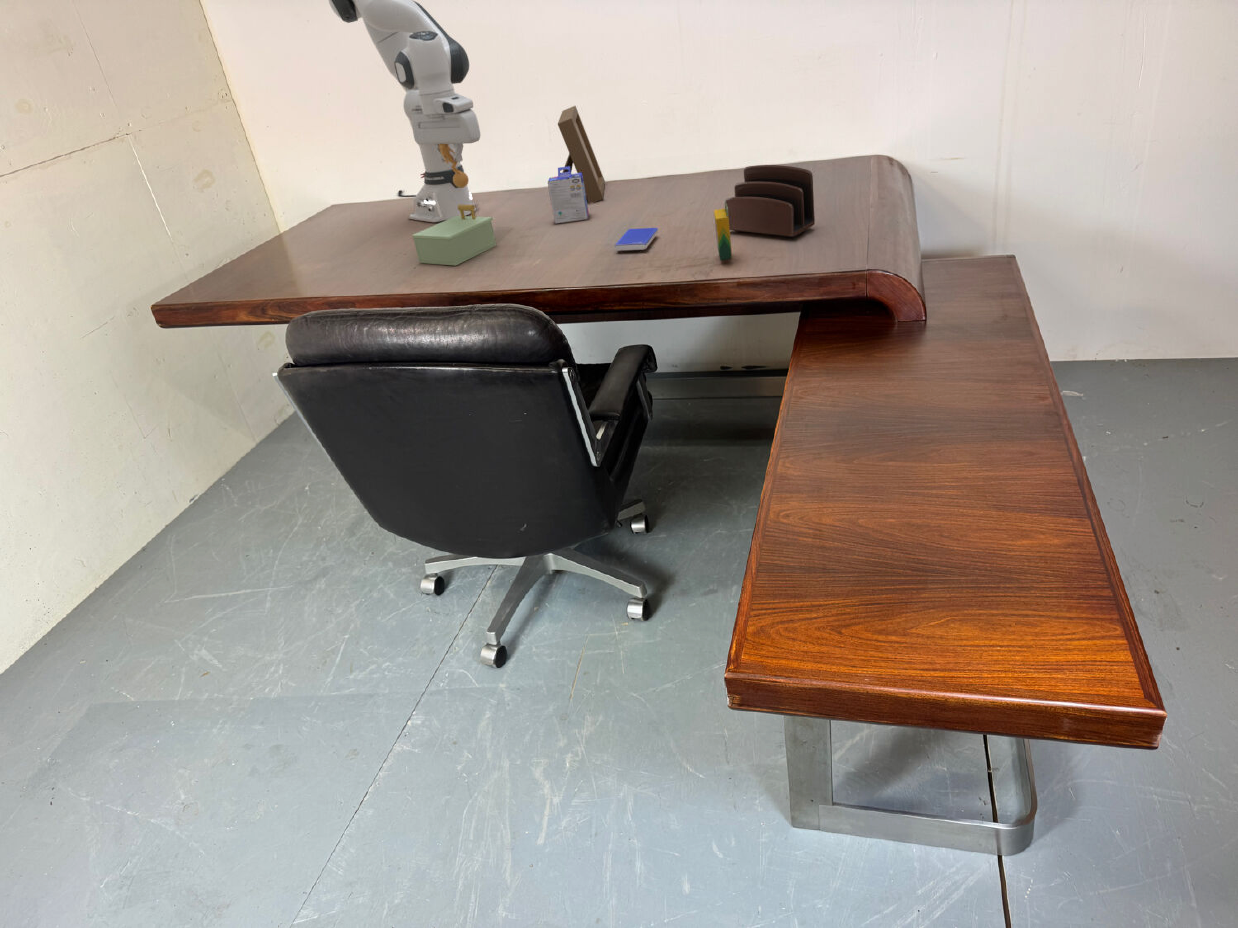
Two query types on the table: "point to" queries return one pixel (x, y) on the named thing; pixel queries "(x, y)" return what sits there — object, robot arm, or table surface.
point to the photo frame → (581, 154)
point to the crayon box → (723, 233)
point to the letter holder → (773, 201)
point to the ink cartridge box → (568, 196)
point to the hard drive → (636, 239)
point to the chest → (456, 246)
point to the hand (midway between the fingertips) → (452, 161)
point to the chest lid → (454, 225)
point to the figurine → (459, 177)
